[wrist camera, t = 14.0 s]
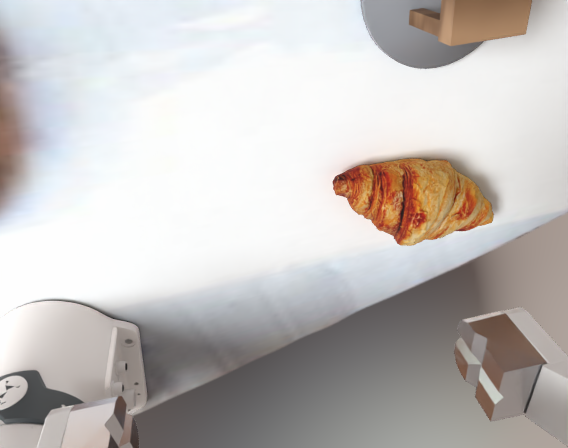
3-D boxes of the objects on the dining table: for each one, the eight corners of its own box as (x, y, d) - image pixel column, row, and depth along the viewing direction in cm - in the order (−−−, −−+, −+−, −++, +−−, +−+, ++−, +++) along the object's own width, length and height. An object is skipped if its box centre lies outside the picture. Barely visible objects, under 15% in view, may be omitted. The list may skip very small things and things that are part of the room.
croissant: (479, 175, 55) (533, 174, 48) (464, 254, 56) (516, 265, 48) (327, 140, 48) (362, 132, 41) (311, 230, 49) (343, 239, 41)
